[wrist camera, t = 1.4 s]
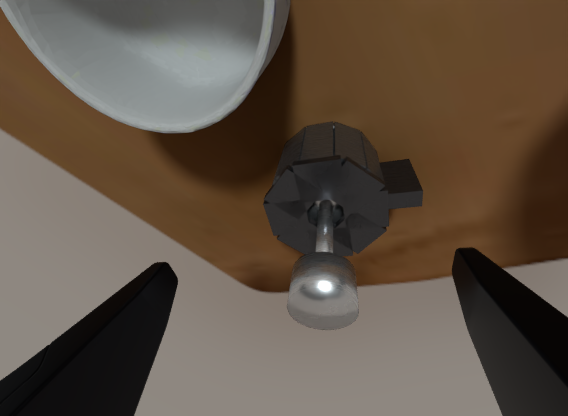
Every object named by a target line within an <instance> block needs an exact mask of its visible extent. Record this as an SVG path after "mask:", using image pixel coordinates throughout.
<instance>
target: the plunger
mask: <svg viewBox="0 0 568 416" xmlns="http://www.w3.org/2000/svg"><path fill="white" fill-rule="evenodd" d="M308 213H309V217H310V218H311V219H313V220H315V221H316V222H318V224H317V238H316V252H313V253H309V254H306V255H304V256H302V257H300V258H299V259H298V260H297V261H296V262H295V264H294V266H293V270H292V277H291V284H290V290H289V298H288V304H287V309H288V312H289V314H290V315H291V317H292V318H293V319H295V320H296V321H297V322H299V323H301V324H302V325H305V326H307V327H310V328H314V329H321V330H334V329H340V328H343V327H346V326H348V325H350V324H352V323H353V322H354V321H355V320H356V319H357V317H358V313H359V310H358V297H357V284H356V272H355V268H354V266H353V265H352V264H351V262H350V261H348V260H347V259H346V258H344V257H342V256H340V255H338V254H335V253H333V223H336V222H337V221H338V220H339V219H340V218H341V217H342V216H343V215H344V209H343V207H342V206H340V205H339V204H337V203H335V202H334V201H332V200H323V201H315V202H314V203H313V204H312V205H311V206H310V207H309V209H308Z"/></svg>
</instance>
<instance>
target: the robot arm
mask: <svg viewBox="0 0 568 416" xmlns="http://www.w3.org/2000/svg"><path fill="white" fill-rule="evenodd" d="M452 275H453V279H454V283H455V286H456V290H457V294H458V297H459V301H460V305H461V308H462V312H463V315H464V319H465V322H466V326H467V329H468V331H469V334H470V337H471V339H472V342H473V344H474V347H475V349H476V351H477V354H478V356H479V358H480V361H481V364H482V366H483V369H484V371H485V373H486V376H487V378H488V381H489V383H490V386H491V388H492V391H493V393H494V396H495V398H496V400H497V403H498V405H499V408H500V410H501V413H502V415H503V416H568V317H566V316H565V315H564V314H562V313H561V312H560V311H558V310H557V309H556V308H554V307H553V306H552V305H550V304H549V303H548V302H546V301H545V300H544V299H542V298H541V297H540V296H538V295H537V294H536V293H534V292H533V291H532V290H530V289H529V288H528V287H526V286H525V285H524V284H522V283H521V282H519V281H518V280H517V279H515V278H514V277H513V276H512V275H510V274H509V273H508V272H506V271H505V270H503V269H502V268H501V267H499V266H498V265H497V264H495V263H494V262H493V261H491V260H490V259H489V258H487V257H486V256H485V255H483V254H482V253H481V252H479V251H478V250H477V249H475V248H472V247H470V248H458V249H456V251H455V256H454V261H453V266H452ZM177 285H178V278H177V276H176V274H175V273H174V271H173V270H172V268H171V267H170V265H169V264H168V263H166V262H157V263H154V264H153V265H151V266H150V267H149V268H147V269H146V270H145V271H144V272H142V273H141V274H140V275H138V276H137V277H136V278H134V279H133V280H132V281H131V282H129V283H128V284H127V285H125V286H124V287H123V288H121V289H120V290H119V291H118V292H116V293H115V294H114V295H112V296H111V297H110V298H109V299H107V300H106V301H105V302H103V303H102V304H101V305H100V306H98V307H97V308H96V309H94V310H93V311H92V312H90V313H89V314H88V315H86V316H85V317H84V318H83V319H81V320H80V321H79V322H77V323H76V324H75V325H73V326H72V327H71V328H70V329H68V330H67V331H66V332H64V333H63V334H62V335H61V336H59V337H58V338H57V339H55V340H54V341H53V342H52V343H51V344H50V345H47V346H46V347H45V348H44V349H42V350H41V351H40V352H38V353H37V354H36V355H35V356H33V357H32V358H31V359H29V360H28V361H27V362H25V363H24V364H23V365H21V366H20V367H19V368H17V369H16V370H15V371H13V372H12V373H10V374H9V375H8V376H6V377H5V378H3V379H2V380H1V381H0V416H134V414H135V411H136V408H137V406H138V403H139V400H140V398H141V395H142V392H143V390H144V387H145V384H146V381H147V379H148V376H149V373H150V370H151V368H152V365H153V362H154V360H155V357H156V354H157V351H158V349H159V346H160V343H161V341H162V337H163V335H164V332H165V329H166V326H167V323H168V320H169V316H170V312H171V308H172V304H173V300H174V297H175V292H176V289H177Z"/></svg>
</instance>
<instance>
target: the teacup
mask: <svg viewBox="0 0 568 416" xmlns="http://www.w3.org/2000/svg"><path fill="white" fill-rule="evenodd" d="M0 7H1V8H2V10H3V12H4V13H5V15H6V17H7V18H8V20H9V22H10V23H11V24H12V26H13V27H14V29H15V30H16V31H17V33H18V34H19V36H20V37H21V38H22V40H23V41H24V42H25V44H26V45H27V46H28V48H29V49H30V50H31V52H32V53H33V54H34V55H35V56H36V57H37V58H38V59H39V60H40V62H41V63H42V64H43V65H44V66H45V67H46V68H47V69H48V70H49V71H50V72H51V73H52V74H53V75H54V76H55V77H56V78H57V79H58V80H59V81H60V82H61V83H62V84H63V85H64V86H66V87H67V88H68V89H69V90H70V91H71V92H73V93H74V94H75V95H76V96H77V97H79V98H80V99H82V100H83V101H85V102H86V103H87V104H89V105H90V106H91V107H93V108H95V109H96V110H98V111H100V112H101V113H103V114H105V115H107V116H109V117H111V118H113V119H115V120H117V121H119V122H121V123H124V124H127V125H130V126H133V127H136V128H139V129H143V130H148V131H154V132H160V133H188V132H194V131H197V130H200V129H203V128H206V127H208V126H211V125H213V124H215V123H217V122H219V121H221V120H223V119H224V118H225V117H227V116H228V115H229V114H231V113H232V112H233V111H234V110H236V109H237V107H238V106H239V105H240V104H241V103H242V102H243V101H244V100H245V98H246V97H247V96H248V94H249V93H250V91H251V90H252V88H253V86H254V85H255V83H256V81H257V80H258V78H259V77H260V75H261V74H262V73H263V71H264V70H265V68H266V67H267V65H268V64H269V62H270V61H271V59H272V57H273V56H274V54H275V52H276V50H277V48H278V46H279V44H280V41H281V39H282V36H283V33H284V29H285V26H286V23H287V19H288V13H289V8H290V0H0Z"/></svg>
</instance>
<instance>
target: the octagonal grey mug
mask: <svg viewBox="0 0 568 416" xmlns="http://www.w3.org/2000/svg"><path fill="white" fill-rule="evenodd" d="M422 197H423V190H422V187H421V185H420V183H419V181H418V178H417V176H416V174H415V171H414V169H413V167H412V165H411V162H410V160H409V159H404V160H397V161H389V162H382V163H379V159H378V155H377V152H376V150H375V148H374V147H373V146H372V145H371V143H370V142H369V141H368V139H367V138H366V137H365V136H364V134H363V133H362V132H360V130H357V129H354V128H351V127H349V126H346V125H343V124H340V123H337V122H335V123H333V122H328V123H322V124H316V125H310V126H307V128H306V127H304V128H303V129H302V130H301V131H299V132H298V133H297V134H296V135H295V136H293V137H292V138H291V139H290V140H288V141H287V142H286V144H285V146H284V149H283V152H282V155H281V158H280V161H279V164H278V167H277V171H276V174H275V177H274V180H273V184H272V187H271V188H270V189H269V191H268V192H267V193H266V195H265V198H264V203H263V205H264V208H265V211H266V214H267V217H268V220H269V223H270V226H271V229H272V232H273V235H274V236H276V235H278V237H277V239H278V240H280V241H281V242H283V243H285V244H287V245H289V246H291V247H292V248H294V249H296V250H298V251H300V252H301V253H303V254H305V255H306V254H309V253H313V252H316V238H317V224H318V222H316V221H315V220H313V219H311V218H310V217H309V213H308V209H309V207H310V206H311V205H312V204H313V203H314V202H315V201H323V200H332V201H334V202H335V203H337V204H339V205H340V206H342V207H343V209H344V215H343V216H342V217H341V218H340V219H339V220H338V221H337V222H336V223H333V253H335V254H338V255H340V256H353V251H354V252H356V253H357V254H358V253H359V252H361V251H362V250H363V249H364V248H366V247H367V246H368V245H369V244H371V243H372V242H373V241H374V240H376V239H377V238H378V237H379V236H381V235H382V234H383V233H384V232H386V231H387V230H386V227H387V226H389V209H396V208H407V207H417V206H422Z"/></svg>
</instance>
